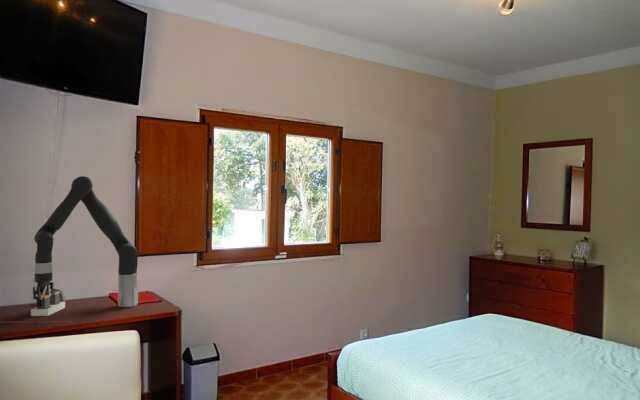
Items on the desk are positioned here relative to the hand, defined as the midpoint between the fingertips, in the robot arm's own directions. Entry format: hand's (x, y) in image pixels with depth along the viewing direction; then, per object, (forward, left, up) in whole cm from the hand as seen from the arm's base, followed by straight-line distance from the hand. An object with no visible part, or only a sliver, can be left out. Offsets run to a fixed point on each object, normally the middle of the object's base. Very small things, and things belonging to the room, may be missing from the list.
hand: (43, 305), depth 221 cm
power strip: (0, -4, -5) cm, 7 cm away
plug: (0, 0, -4) cm, 4 cm away
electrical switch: (+5, -22, -5) cm, 24 cm away
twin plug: (0, -9, -4) cm, 10 cm away
